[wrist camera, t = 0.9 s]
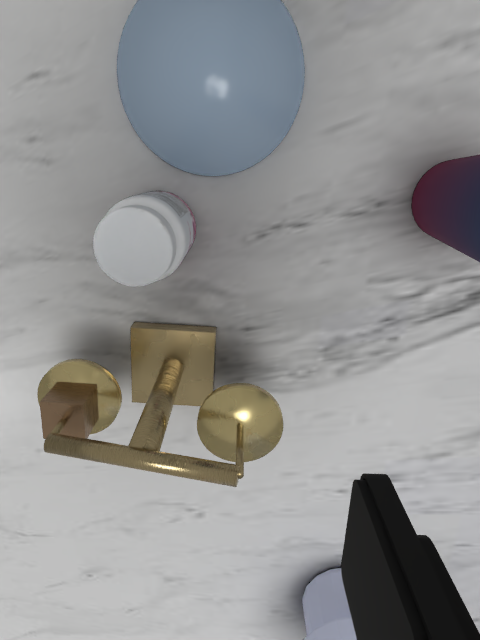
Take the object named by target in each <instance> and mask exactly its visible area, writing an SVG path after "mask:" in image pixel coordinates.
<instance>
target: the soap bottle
mask: <svg viewBox="0 0 480 640" xmlns="http://www.w3.org/2000/svg"><path fill="white" fill-rule="evenodd" d="M302 603H303V610H304V618H305V625H306V632H307V636H306V637H305V638H304V639H303V640H357V638H356V634H355V630H354V626H353V622H352V618H351V614H350V609H349V605H348V601H347V597H346V593H345V589H344V585H343V580H342V574H341V568H337V569H330V570H328V571H326V572H324V573H322V574H319V575H317V576H316V577H315V578H314V579H313V580H312V581H311V582H310V583H309V584H308V585H307V586H306V589H305V592H304V595H303V599H302Z"/></svg>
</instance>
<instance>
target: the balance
mask: <svg viewBox="0 0 480 640" xmlns="http://www.w3.org/2000/svg"><path fill="white" fill-rule="evenodd" d="M215 345H216V327H208V326H192V325H176V324H160V323H144V322H134V323H133V325H132V326H131V370H132V402H139V403H146V405H145V407H144V410H143V412H142V415H141V417H140V420H139V422H138V424H137V427H136V429H135V432H134V434H133V436H132V439H131V441H130V444H129V446H125V445H119V444H114V443H108V442H102V441H96V440H91V439H87V438H88V436H89V434H94V433H97V432H100V431H102V430H104V429H105V428H107V427H108V426H109V425H110V424H111V423H112V422H113V421H114V419H115V418H116V416H117V414H118V412H119V410H120V407H121V402H122V396H121V390H120V387H119V385H118V383H117V381H116V379H115V378H114V377H113V375H112V374H111V373H110V372H109V371H108V370H106V369H105V368H104V367H102V366H101V365H99V364H97V363H94V362H91V361H88V360H82V359H71V360H66V361H63V362H60V363H58V364H57V365H55V366H54V367H52V368H51V369H50V370H49V371H48V372H47V373H46V374H45V375H44V377H43V378H42V380H41V382H40V384H39V387H38V402H39V405H40V410H41V419H42V429H43V438H44V439H46V440H45V443H44V451H45V452H47V453H52V454H58V455H63V456H69V457H74V458H80V459H85V460H90V461H96V462H101V463H107V464H112V465H118V466H123V467H129V468H134V469H140V470H145V471H151V472H156V473H162V474H167V475H173V476H178V477H184V478H189V479H195V480H200V481H206V482H211V483H217V484H222V485H228V486H233V487H237V483H238V479H241V478H243V476H244V462H249V461H253V460H256V459H259V458H261V457H263V456H265V455H266V454H268V453H269V452H270V451H272V450H273V449H274V448H275V446H276V445H277V444H278V442H279V440H280V438H281V435H282V432H283V418H282V413H281V409H280V407H279V404H278V403H277V401H276V400H275V399H274V397H273V396H272V395H271V394H270V393H268V392H267V391H266V390H264V389H262V388H260V387H258V386H255V385H252V384H246V383H234V384H228V385H225V386H222V387H220V388H218V389H216V390H215V391H213V386H214V366H215ZM173 405H189V406H201V407H200V410H199V414H198V420H197V430H198V434H199V437H200V439H201V441H202V443H203V444H204V446H205V447H206V448H207V449H208V450H209V451H210V452H211V453H213V454H214V455H216V456H217V457H220V458H222V459H224V460H228V461H232V462H236V465H234V464H228V463H223V462H217V461H211V460H205V459H200V458H194V457H188V456H182V455H177V454H171V453H165V452H159V451H160V448H161V444H162V441H163V438H164V434H165V431H166V427H167V424H168V421H169V417H170V414H171V411H172V407H173Z"/></svg>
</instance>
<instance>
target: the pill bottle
mask: <svg viewBox="0 0 480 640" xmlns="http://www.w3.org/2000/svg"><path fill="white" fill-rule="evenodd" d="M195 235H196V223H195V219H194V215H193V213H192V211H191V209H190V208H189V207H188V205H187V204H186V203H185V202H184V201H183V200H182V199H181V198H179V197H178V196H176V195H174V194H172V193H169V192H165V191H151V192H147V193H143V194H139V195H135V196H131V197H128V198H125V199H123V200H121V201H119V202H118V203H116V204H115V205H114V206H113V207H112V208H110V210H109V211H108V212H107V214H106V215H105V217H104V218H103V219H102V220H101V221H100V223H99V224H98V226H97V228H96V230H95V233H94V238H93V250H94V255H95V258H96V260H97V262H98V264H99V266H100V267H101V269H102V270H103V271H104V272H105V273H106V274H107V275H108V276H109V277H110V278H111V279H113V280H114V281H116V282H118V283H120V284H123V285H126V286H131V287H140V286H146V285H149V284H151V283H154V282H156V281H159V280H162V279H164V278H166V277H168V276H169V275H170V274H172V273H173V272H174V271H175V270H176V269H177V268H178V267H179V265H180V264H181V263H182V261H183V259H184V258H185V256H186V254H187V253H188V251H189V249H190V248H191V246H192V244H193V242H194V239H195Z"/></svg>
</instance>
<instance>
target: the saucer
mask: <svg viewBox="0 0 480 640" xmlns="http://www.w3.org/2000/svg"><path fill="white" fill-rule="evenodd" d="M304 74H305V68H304V55H303V50H302V45H301V41H300V37H299V34H298V31H297V28H296V26H295V24H294V22H293V19H292V17H291V15H290V14H289V12H288V10H287V9H286V7H285V6H284V4H283V3H282V1H281V0H138V1H137V3H136V4H135V6H134V8H133V9H132V11H131V13H130V15H129V16H128V19H127V21H126V24H125V26H124V28H123V32H122V35H121V39H120V43H119V49H118V56H117V77H118V86H119V91H120V96H121V100H122V103H123V106H124V109H125V112H126V114H127V116H128V118H129V120H130V123H131V124H132V126H133V128H134V129H135V131H136V133H137V134H138V136H139V137H140V138H141V139H142V141H143V142H144V143H145V144H146V145H147V146H148V147H149V148H150V149H151V150H152V151H153V152H154V153H155V154H156V155H157V156H159V157H160V158H161V159H162V160H164V161H165V162H167V163H169V164H170V165H172V166H174V167H176V168H178V169H181V170H183V171H186V172H189V173H193V174H197V175H204V176H221V175H228V174H233V173H236V172H240V171H242V170H245V169H247V168H249V167H251V166H253V165H255V164H256V163H258V162H260V161H261V160H263V159H264V158H265V157H266V156H268V155H269V154H270V153H271V152H272V151H273V150H274V149H275V148H276V147H277V146H278V145H279V144H280V142H281V141H282V140H283V138H284V137H285V136H286V134H287V133H288V131H289V129H290V127H291V126H292V124H293V122H294V119H295V117H296V115H297V112H298V109H299V106H300V102H301V99H302V94H303V87H304Z"/></svg>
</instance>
